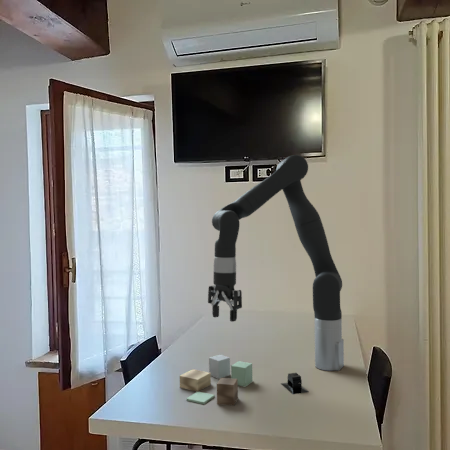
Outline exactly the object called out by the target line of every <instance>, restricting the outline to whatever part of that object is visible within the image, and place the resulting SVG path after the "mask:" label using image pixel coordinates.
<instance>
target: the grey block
mask: <svg viewBox="0 0 450 450" xmlns="http://www.w3.org/2000/svg"><path fill="white" fill-rule="evenodd" d="M208 372H209V373H211V377H213V378H216V379H217V380H220V378H227V377H229V376H231V357H230V356H226V355H224V354H217V355H214V356H210V357H208Z"/></svg>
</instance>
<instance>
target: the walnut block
mask: <svg viewBox="0 0 450 450" xmlns="http://www.w3.org/2000/svg"><path fill="white" fill-rule="evenodd" d="M238 386H239V385H238V379H233V378H231V377H230V378H229V377H223V378H220V379H218V382H217V383H216V404H217V405H224V406H235V404H236V403H237V401H238V399H239V394H238V393H239V389H238V388H239V387H238Z"/></svg>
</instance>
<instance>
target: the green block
mask: <svg viewBox="0 0 450 450" xmlns="http://www.w3.org/2000/svg"><path fill="white" fill-rule="evenodd" d="M230 378H233V379H238V386H239V387H240V386H241V387H247V386H248V385H250V384H251V383H253V382H254V381H253V363H252V362H247V361H239V360H238V361H236V362H235V363H233V364H231V365H230Z"/></svg>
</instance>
